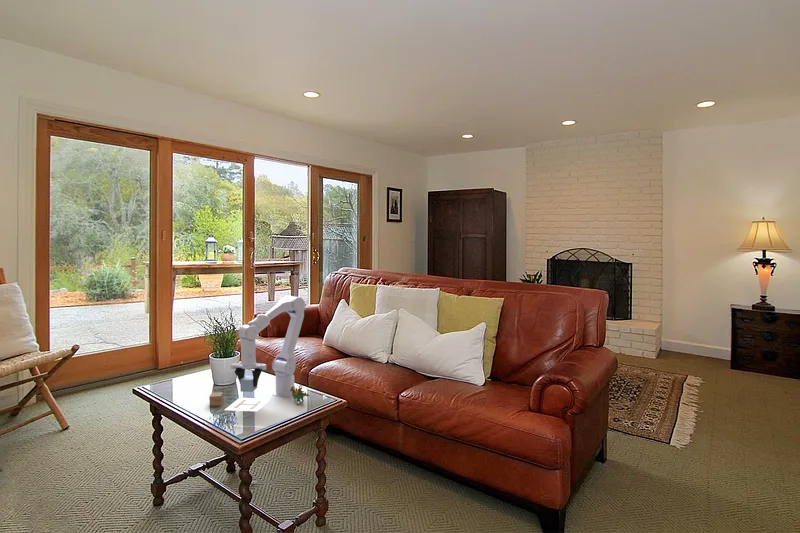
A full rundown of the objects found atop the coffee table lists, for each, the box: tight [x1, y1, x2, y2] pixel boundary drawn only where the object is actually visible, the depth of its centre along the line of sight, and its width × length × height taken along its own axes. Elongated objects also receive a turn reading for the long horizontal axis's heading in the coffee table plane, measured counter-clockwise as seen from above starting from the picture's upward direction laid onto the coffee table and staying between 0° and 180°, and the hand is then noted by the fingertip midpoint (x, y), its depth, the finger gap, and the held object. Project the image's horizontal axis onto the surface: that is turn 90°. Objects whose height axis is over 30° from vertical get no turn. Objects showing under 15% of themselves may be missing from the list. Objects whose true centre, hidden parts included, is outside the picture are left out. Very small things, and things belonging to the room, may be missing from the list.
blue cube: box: [239, 375, 258, 393], centre depth 185 cm, size 5×5×5 cm
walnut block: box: [208, 391, 224, 407], centre depth 187 cm, size 4×4×4 cm
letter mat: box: [224, 397, 271, 413], centre depth 186 cm, size 14×14×1 cm
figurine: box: [289, 384, 311, 406], centre depth 188 cm, size 3×12×8 cm, turn 55°
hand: (249, 385), depth 185 cm, fingers closed on blue cube, 5 cm apart
